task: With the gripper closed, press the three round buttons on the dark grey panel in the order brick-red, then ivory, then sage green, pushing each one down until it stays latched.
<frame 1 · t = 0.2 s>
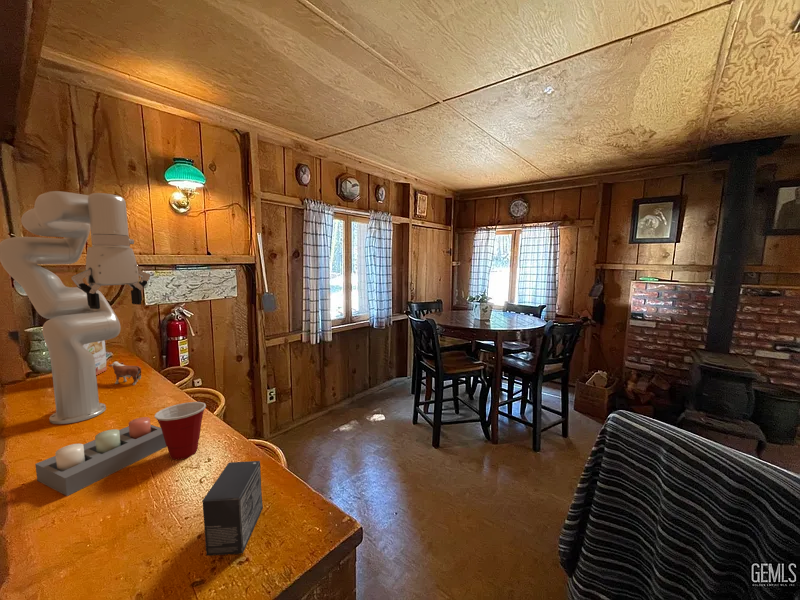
hand: (116, 306, 89), 36 cm above the worktop, tool pointing down, fingers open, 9 cm apart
cracker box: (89, 376, 135), on the worktop
brick button: (140, 429, 86), point 5 cm above the worktop, slide at 0.0 cm
plastic cup: (183, 453, 84), on the worktop
small box: (236, 531, 61), on the worktop
bull figurine: (126, 383, 129), on the worktop
panel: (109, 461, 80), on the worktop
sage button: (108, 443, 80), point 5 cm above the worktop, slide at 0.0 cm
ivory button: (70, 459, 73), point 5 cm above the worktop, slide at 0.0 cm
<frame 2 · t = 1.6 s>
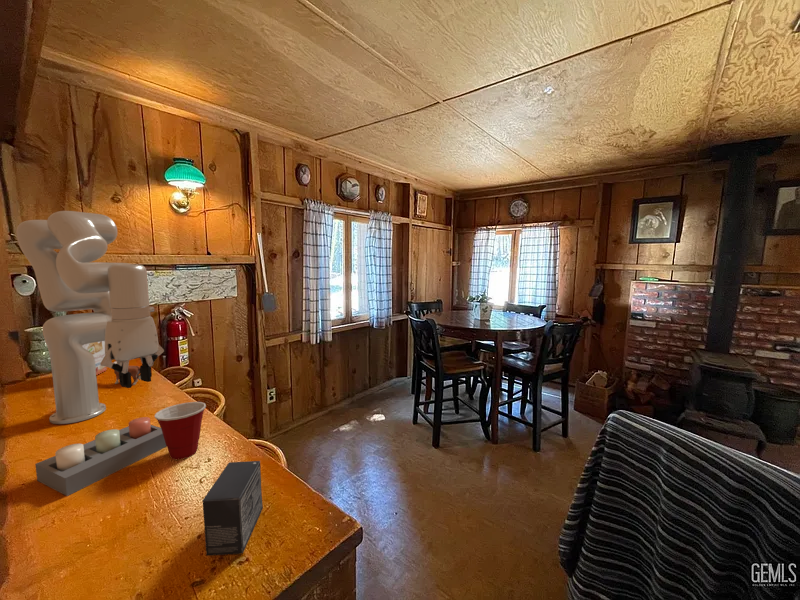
hand: (136, 383, 85), 17 cm above the worktop, tool pointing down, fingers open, 3 cm apart
nothing on the worktop moved.
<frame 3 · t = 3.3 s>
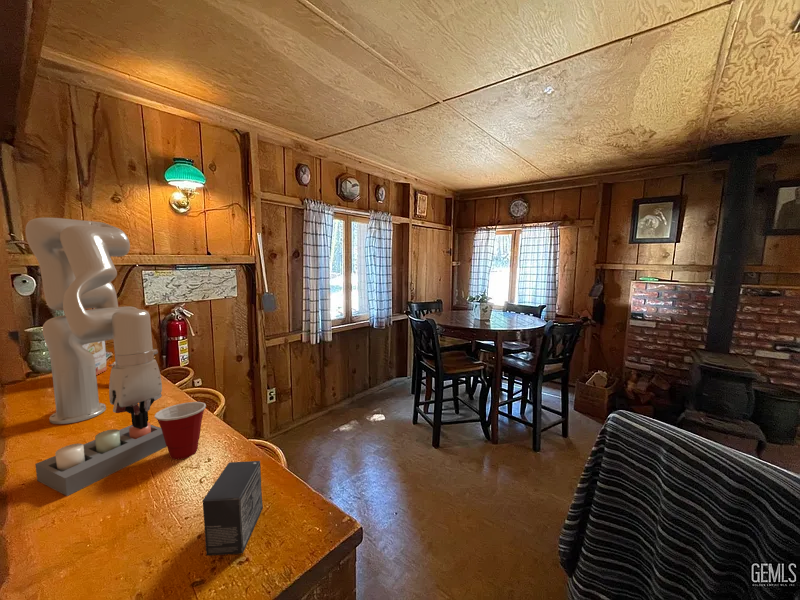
hand: (140, 426, 86), 6 cm above the worktop, tool pointing down, fingers closed
brick button: (140, 435, 86), point 3 cm above the worktop, slide at 1.5 cm
everything else where it was.
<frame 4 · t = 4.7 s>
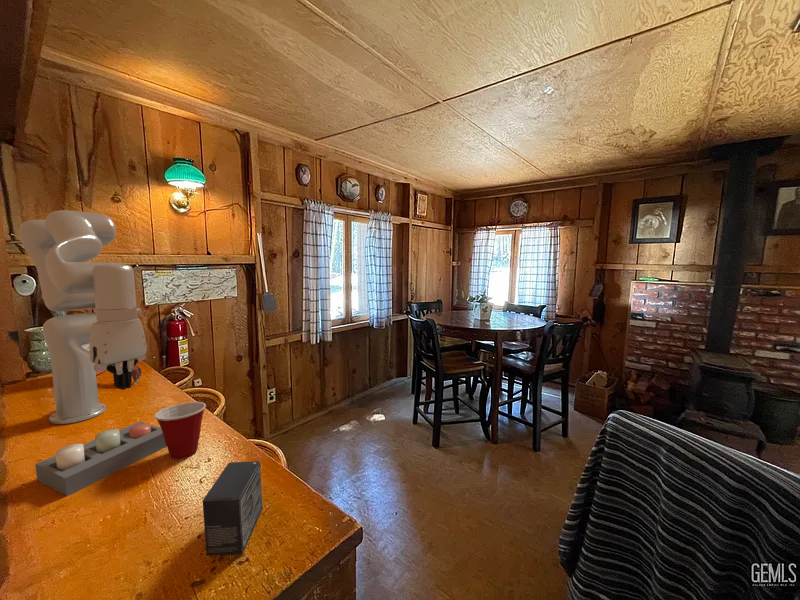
hand: (123, 387, 82), 17 cm above the worktop, tool pointing down, fingers closed
brick button: (140, 436, 86), point 3 cm above the worktop, slide at 1.8 cm
everything else where it was.
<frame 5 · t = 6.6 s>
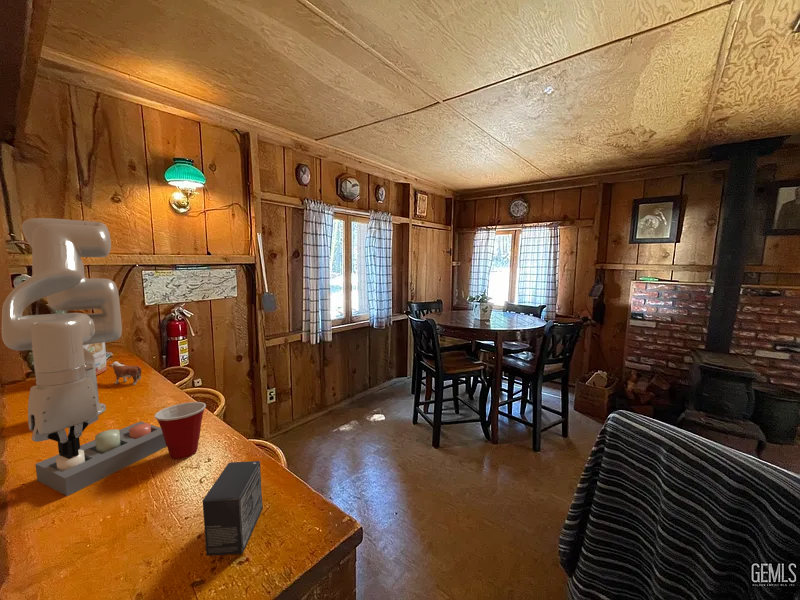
hand: (70, 455, 73), 6 cm above the worktop, tool pointing down, fingers closed
ivory button: (71, 465, 73), point 3 cm above the worktop, slide at 1.5 cm, touching gripper
everything else where it was.
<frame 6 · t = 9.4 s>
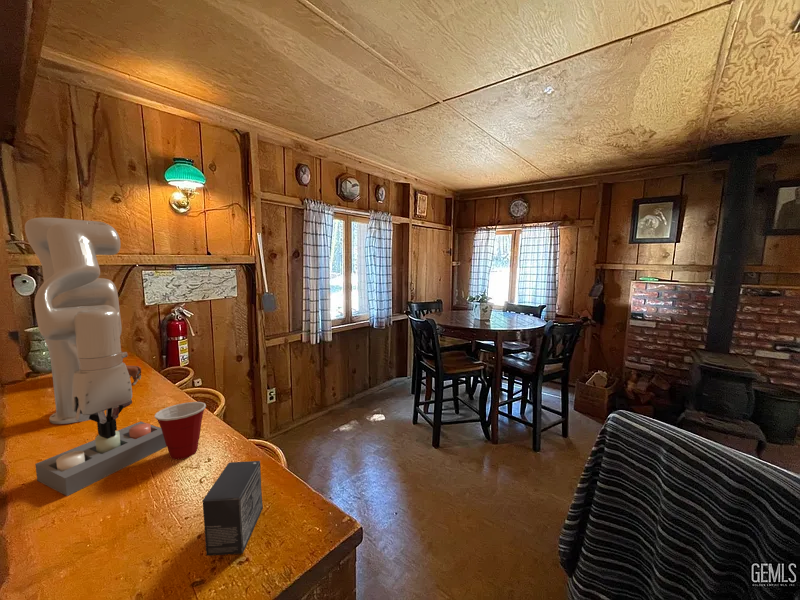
hand: (108, 435, 79), 7 cm above the worktop, tool pointing down, fingers closed
sage button: (108, 444, 80), point 4 cm above the worktop, slide at 0.4 cm, touching gripper
ivory button: (71, 466, 73), point 3 cm above the worktop, slide at 1.8 cm
everything else where it was.
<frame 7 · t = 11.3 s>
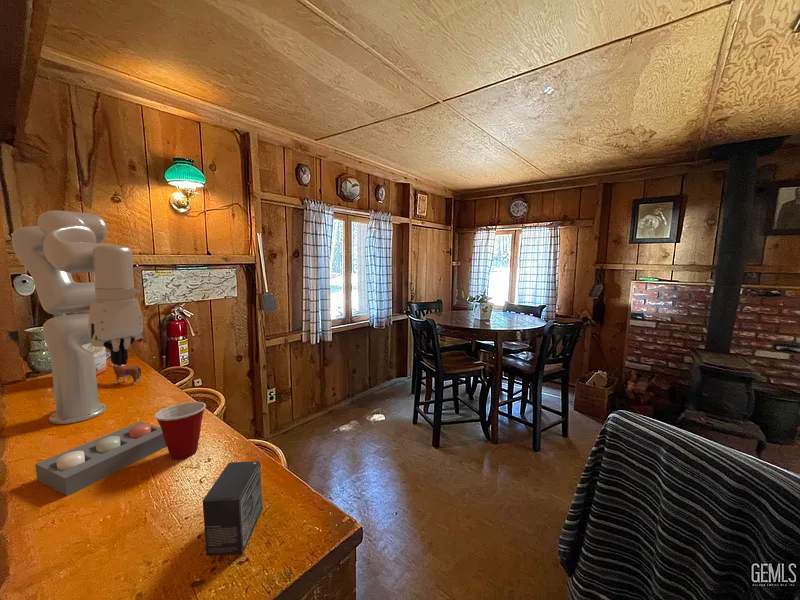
hand: (119, 364, 86), 22 cm above the worktop, tool pointing down, fingers closed
sage button: (108, 450, 80), point 3 cm above the worktop, slide at 1.8 cm
everything else where it was.
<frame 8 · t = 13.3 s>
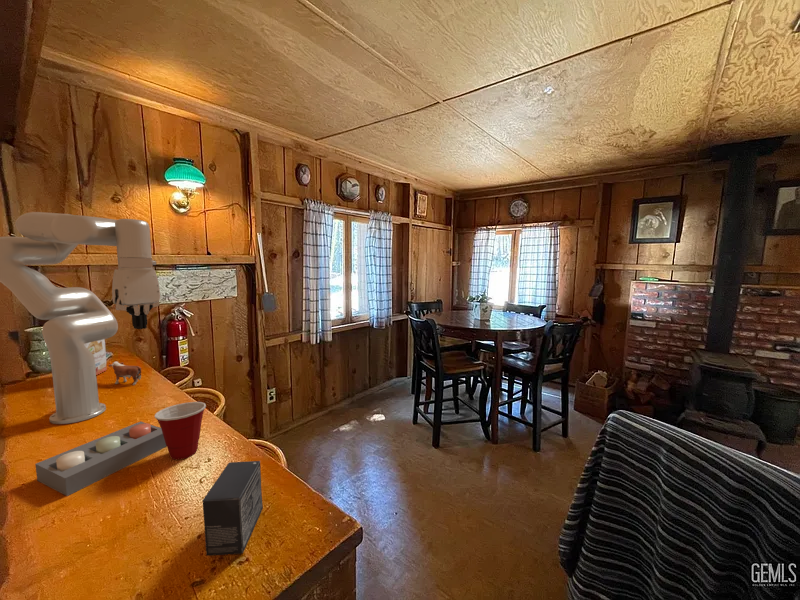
hand: (140, 328, 95), 29 cm above the worktop, tool pointing down, fingers closed
nothing on the worktop moved.
at the end: brick button slide at 1.8 cm; ivory button slide at 1.8 cm; sage button slide at 1.8 cm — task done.
